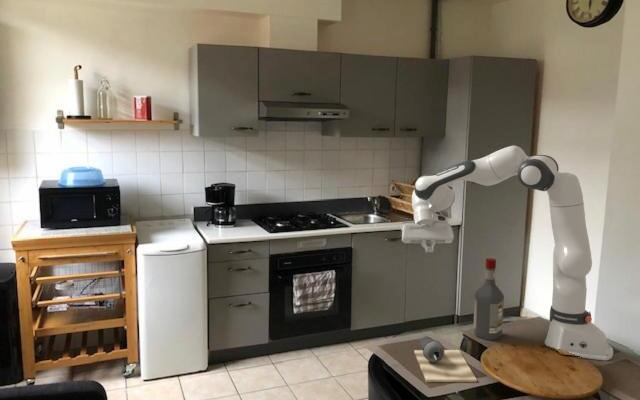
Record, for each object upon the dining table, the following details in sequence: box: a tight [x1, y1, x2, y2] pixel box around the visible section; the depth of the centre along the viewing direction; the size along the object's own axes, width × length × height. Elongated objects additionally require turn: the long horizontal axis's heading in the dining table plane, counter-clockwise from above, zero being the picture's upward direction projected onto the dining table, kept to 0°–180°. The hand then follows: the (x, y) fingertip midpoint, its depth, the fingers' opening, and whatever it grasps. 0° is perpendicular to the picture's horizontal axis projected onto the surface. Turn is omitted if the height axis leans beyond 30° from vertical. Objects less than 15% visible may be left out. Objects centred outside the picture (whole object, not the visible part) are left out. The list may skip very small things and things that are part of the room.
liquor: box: [473, 258, 505, 341], centre depth 208 cm, size 9×9×30 cm
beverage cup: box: [419, 335, 445, 362], centre depth 188 cm, size 7×7×20 cm
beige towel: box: [413, 349, 478, 383], centre depth 185 cm, size 22×16×1 cm
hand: (429, 251), depth 213 cm, fingers closed
